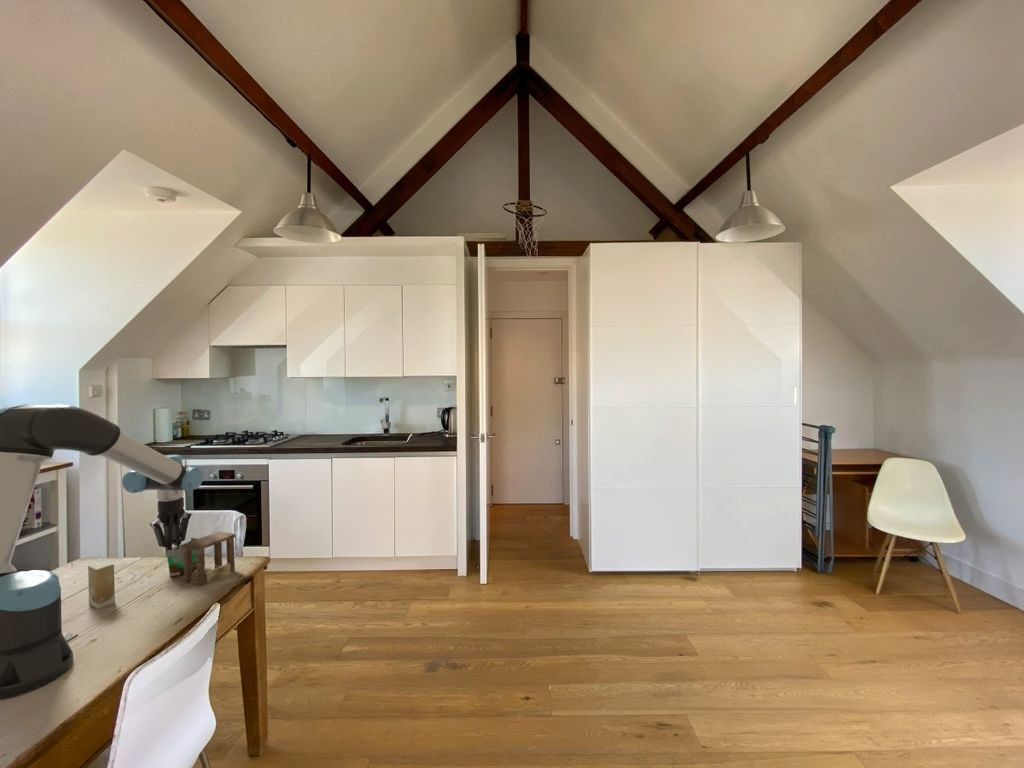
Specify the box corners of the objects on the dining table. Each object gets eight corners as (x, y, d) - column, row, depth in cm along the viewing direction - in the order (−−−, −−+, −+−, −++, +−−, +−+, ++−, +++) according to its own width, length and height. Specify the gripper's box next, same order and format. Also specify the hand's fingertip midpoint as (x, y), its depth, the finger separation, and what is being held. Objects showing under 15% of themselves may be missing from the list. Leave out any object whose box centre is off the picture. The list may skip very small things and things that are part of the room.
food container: (184, 579, 152) (183, 550, 151) (166, 579, 152) (165, 550, 151) (209, 564, 164) (208, 537, 164) (193, 564, 164) (192, 537, 164)
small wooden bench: (200, 587, 146) (198, 548, 146) (182, 583, 149) (181, 544, 149) (237, 570, 158) (236, 534, 158) (220, 566, 161) (219, 531, 161)
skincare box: (88, 604, 136) (86, 565, 136) (106, 598, 140) (104, 559, 139) (97, 609, 133) (96, 569, 133) (116, 602, 137) (114, 563, 136)
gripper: (157, 504, 153) (160, 572, 153) (196, 494, 165) (198, 557, 165) (143, 502, 155) (146, 569, 156) (182, 492, 167) (184, 554, 168)
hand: (172, 563), depth 161 cm, fingers closed
